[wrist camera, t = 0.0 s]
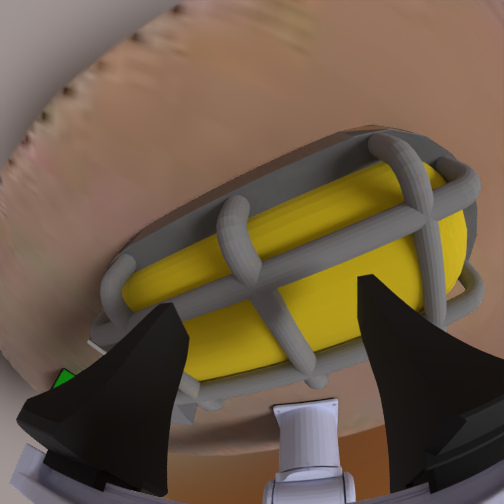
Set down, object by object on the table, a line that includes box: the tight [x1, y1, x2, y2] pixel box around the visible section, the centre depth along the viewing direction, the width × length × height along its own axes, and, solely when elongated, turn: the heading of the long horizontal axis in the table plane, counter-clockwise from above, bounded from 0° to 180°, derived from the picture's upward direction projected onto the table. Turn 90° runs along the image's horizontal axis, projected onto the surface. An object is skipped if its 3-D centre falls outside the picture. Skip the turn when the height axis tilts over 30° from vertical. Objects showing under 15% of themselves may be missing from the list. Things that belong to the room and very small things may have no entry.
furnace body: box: [171, 403, 197, 425], centre depth 28 cm, size 6×10×5 cm, turn 103°
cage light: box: [90, 125, 485, 411], centre depth 18 cm, size 15×8×30 cm
